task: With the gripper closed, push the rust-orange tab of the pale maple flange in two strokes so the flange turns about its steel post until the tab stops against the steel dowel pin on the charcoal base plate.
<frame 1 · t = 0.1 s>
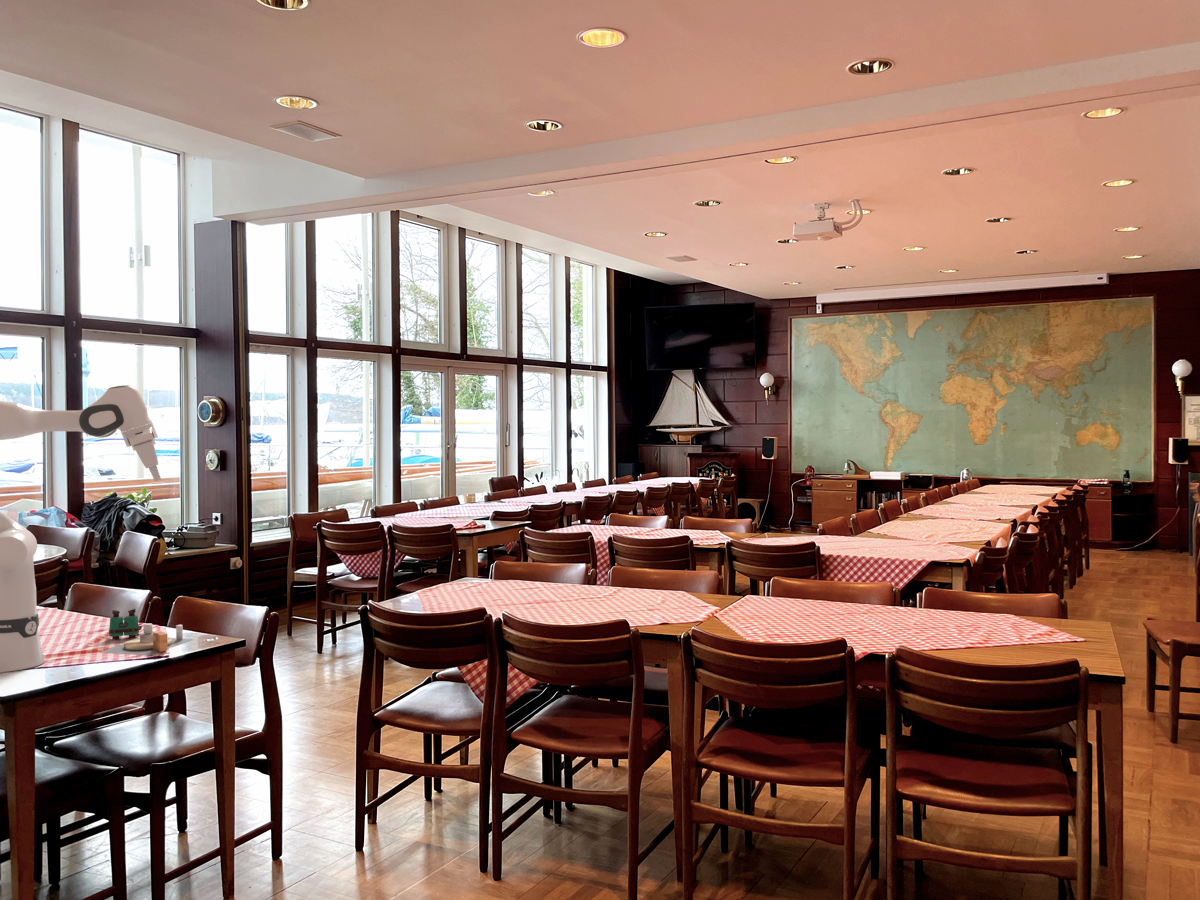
hand: (157, 479, 269), 52 cm above the table, tool tilted 20°, fingers open, 8 cm apart
maple flange: (151, 637, 268), point 4 cm above the table, hinge at 0.0°
base plate: (148, 650, 270), on the table
binoculars: (125, 641, 282), on the table
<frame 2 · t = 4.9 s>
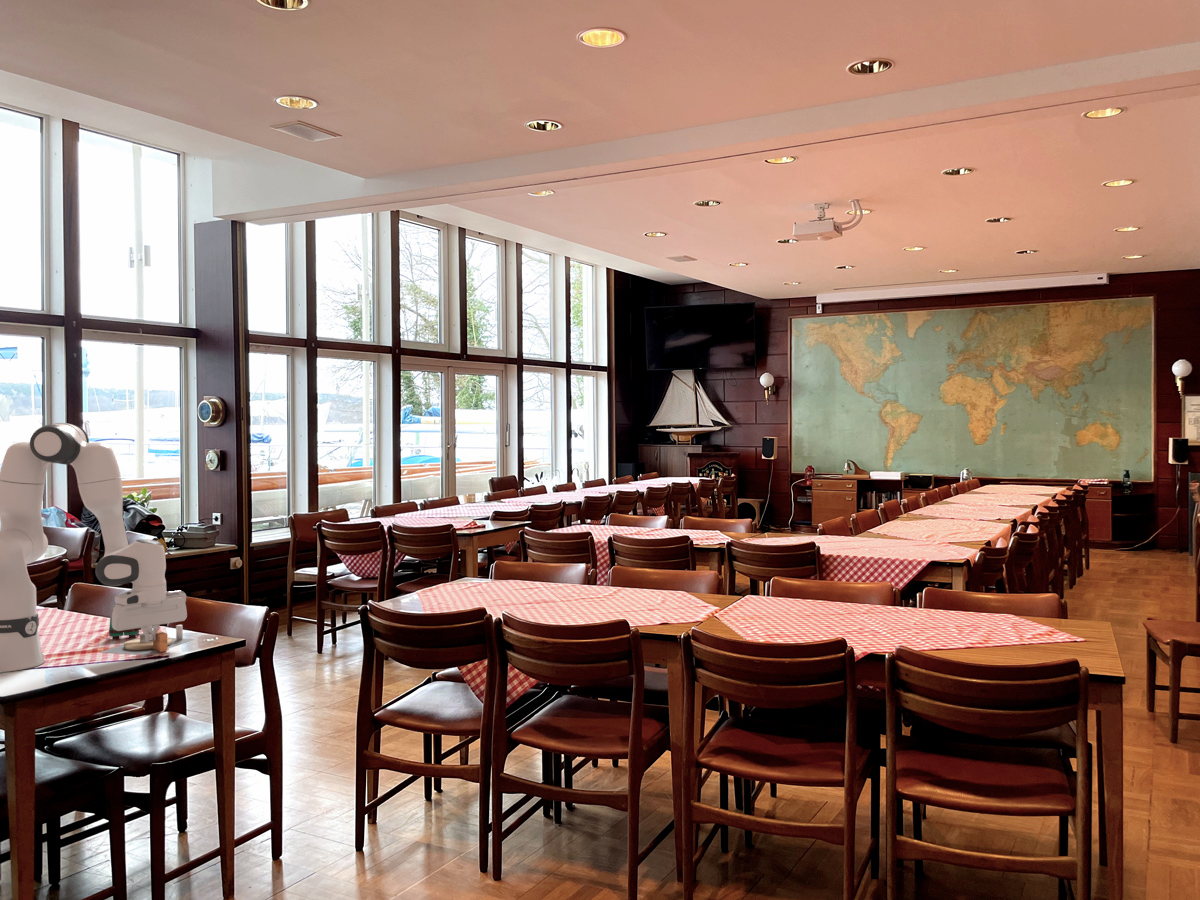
hand: (150, 640, 263), 5 cm above the table, tool pointing down, fingers closed
maple flange: (151, 637, 268), point 4 cm above the table, hinge at 0.0°, touching gripper
everything else where it was.
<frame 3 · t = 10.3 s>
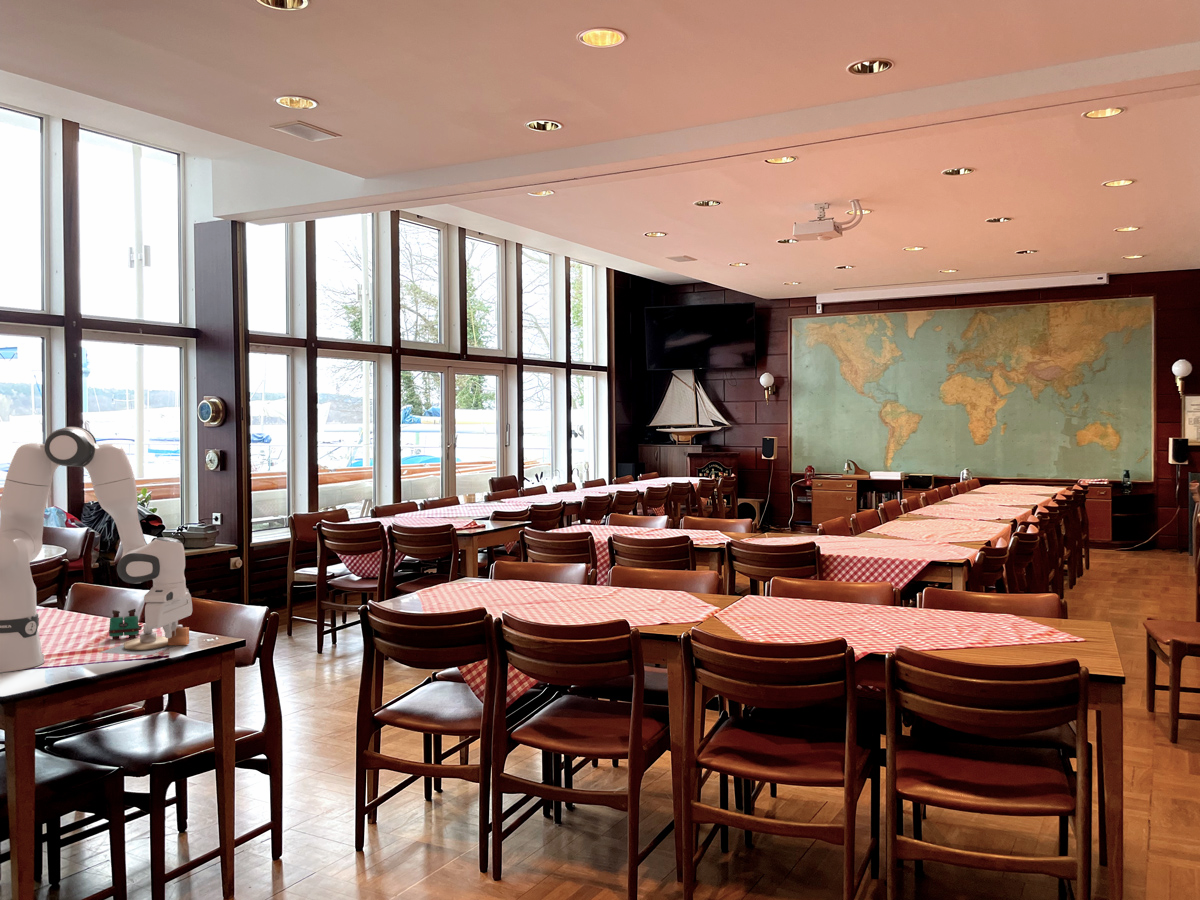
hand: (170, 637, 267), 5 cm above the table, tool pointing down, fingers closed
maple flange: (157, 636, 270), point 4 cm above the table, hinge at 43.1°, touching gripper
everything else where it was.
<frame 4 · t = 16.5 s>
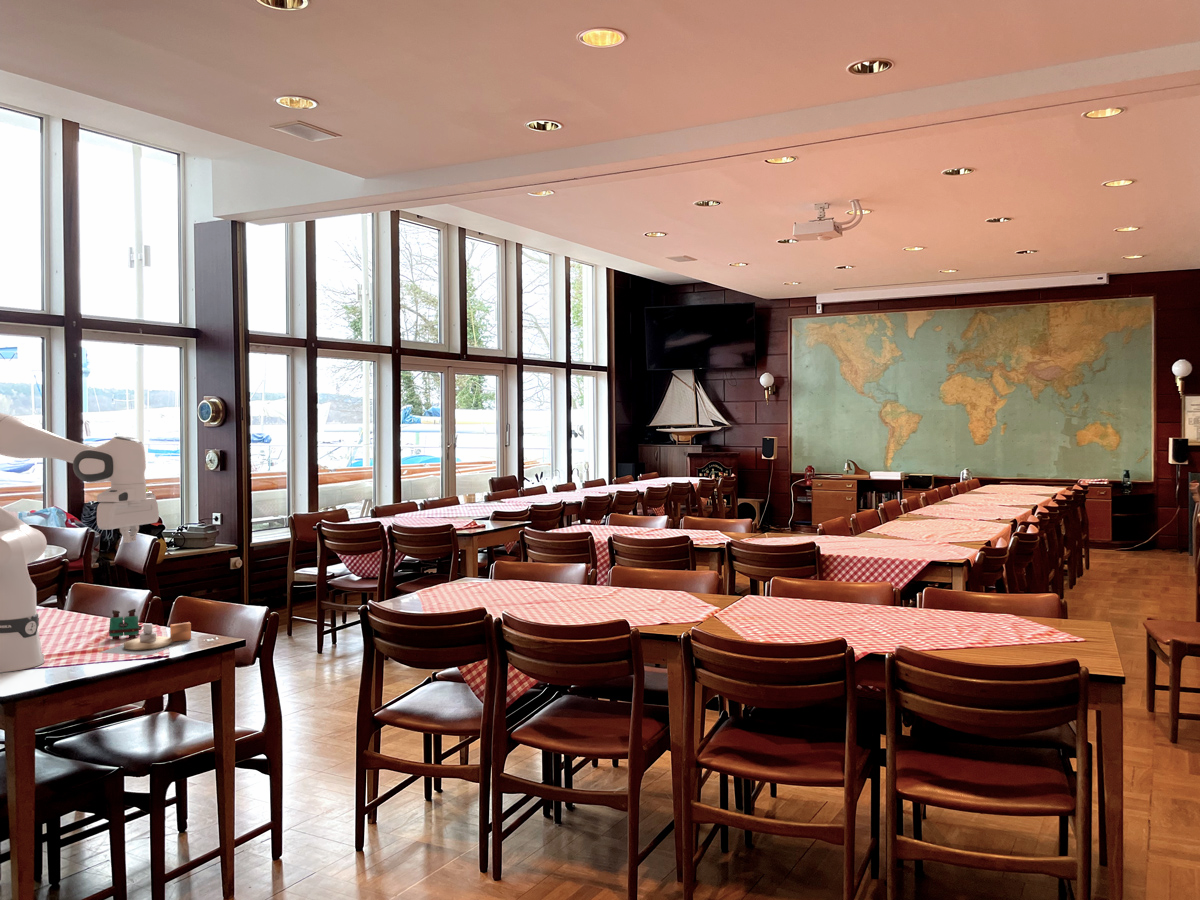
hand: (129, 542, 253), 35 cm above the table, tool pointing down, fingers closed
maple flange: (157, 635, 272), point 4 cm above the table, hinge at 81.8°, touching base plate
everything else where it was.
at the end: maple flange at +82° (first picture: +0°); binoculars moved 0.3 cm from its start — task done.
